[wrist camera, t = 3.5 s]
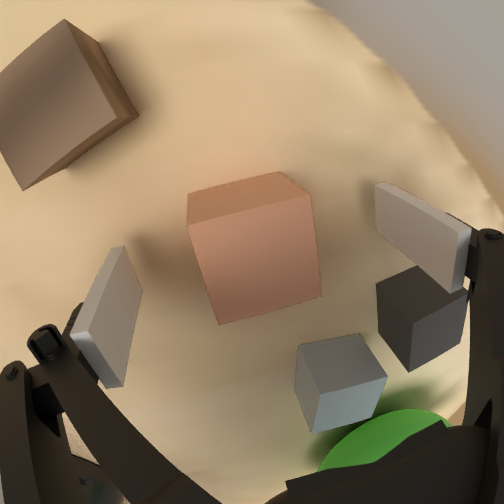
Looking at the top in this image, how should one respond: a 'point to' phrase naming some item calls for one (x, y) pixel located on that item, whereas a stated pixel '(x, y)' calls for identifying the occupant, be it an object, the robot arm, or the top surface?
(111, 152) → the top surface
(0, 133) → the walnut cube
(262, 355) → the top surface
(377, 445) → the toy bird
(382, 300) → the black rubber cube
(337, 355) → the slate grey cube
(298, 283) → the terracotta cube
